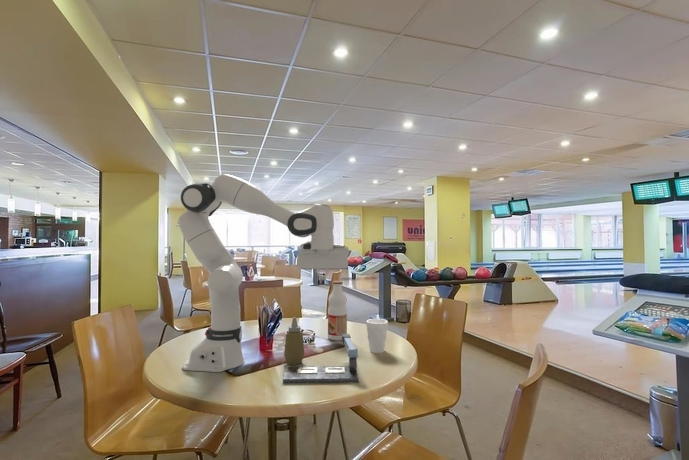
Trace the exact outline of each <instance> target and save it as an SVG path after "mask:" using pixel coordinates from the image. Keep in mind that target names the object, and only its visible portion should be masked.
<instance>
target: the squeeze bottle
mask: <svg viewBox="0 0 689 460" xmlns="http://www.w3.org/2000/svg"><path fill="white" fill-rule="evenodd" d="M303 335H304V334H303V332H302V331H301V326H300V325H298V320H297V317H296V316H293V317H292V321H291V325H289V326H288V331H287V332H286V334H285V344H284V353H283V355H284V359H285V362H286V364H287V365H290V366H297V365H300V364H301V363H302V362H303V359H304V357H305V346H304V344H305V343H304V336H303Z"/></svg>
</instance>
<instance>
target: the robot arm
mask: <svg viewBox="0 0 689 460" xmlns="http://www.w3.org/2000/svg"><path fill="white" fill-rule="evenodd" d="M180 201H181V204H182V206H183V207H184V208H185V209H186V211H184V212H183V213H181V215H180V216H179V217H178V220H177V221H178V225H179V229H180V232H181V234H182V236H183V238H184V239H185V241H186V243H187V245H188V246H189V248H190V250H191V252H192V253H193V255H194V256H195V259H196V260H197V261H198V262H199V263H200V264H201V265H202V266H203V267H204V268H205V269H206V271H207V272H208V273H209V274H208V278H207V287H208V295H209V303H210V326H209V327H208V328H207V329H206V331H204V335H205V338H204V339H203V340H201V341H200V342H199V343H198V344H196V345H195V346H193V348H192V349H191V352H190V353H189V354H190V355H189V358H188V359H187V360H186V361H185V362H184V363H183V364H182V369H183V370H184V371H192V372H193V371H194V372H195V371H197V372H212V373H221V372H224V371H227V370H231V369H235V368H237V367H240V366H241V365H243V364H244V363H245V358H244V355H243V350H242V349H243V348H242V343H241V341H242V337H243V335H242V334H243V331H242V326H241V304H240V294H239V293H240V291H239V288H240V287H239V286H240V285H241V284H242V283H243V279H244V277H243V276H244V275H243V270H242V269H241V268H240V266H239V265H238V263H237V262H236V260H235V259H234V257H233V256H232V255H231V253H229V252H230V251H228V250H227V248H226V247H225V245H224V244H223V242H222V240H221V238H220V237H219V236H218V234H217V232H216V230H215V229H214V227H213V226H212V224H211V222H210V220H209V217H211V216H212V215H213V214H214V213H215V212H217V210H218V209H219V208H220V206H221V205H222V203H225V204H227V205H230V206H232V207H234V208H236V209H238V210H241V211H244V212H246V213H250V214H254V215H259V216H263V217H264V216H265V217H268V218H270V219H272V220H274V221H276V222H278V223H280V224H282V225H284V226H286V227H287V229H288V231H289V232H290V233H291V234H292V236H293V235H294V236H295V237H299V238H308V237H309V236H311V239H310V241H307V242H304V243H302V244H300V245H299V248H300V249H299V251H298V253H297V257H296V268H297V269H299V270H300V269H301V270H305V269H307V270H308V269H309V270H312V269H315V272H316V274H317V275H318V281H326V280H327V276H328V274H329V272H330V270H333V269H334V270H335V269H338V270H340V269H341V270H345V269H347V268H349V261H348V260H349V258H348V256H349V255H350V254H349V253H350V252H349V251H350V249H349V247H348V246H346V245H345V244H342V245H341V244H340V245H339V244H335V242H334V241H335V238H334V237H335V235H334V229H335V228H334V227H335V220H334V219H335V218H334V212H333V209H332V208H331V207H330V206H329V205H327V204H323V203H313V205H312V206H310V207H308V208H306V209H304V210H301V211H298V212H294V211H291V210H289V209H287V208H285V207H283V206H281V205H279V204H277V203H276V202H274V201H273V200H272V199H271V198H269V196H267V194H265V193H264V192H263V191H262V190H261V189H259V188H258V187H257V186H255V185H254V184H252V183H250V182H249V181H246V180H244V179H243V178H240V177H237V176H234V175H230V174H228V173H222V174H219V175H218V176H217V177H216V178H215V179H214V181H213V183H211V184H210V183H207V182H205V183H192V184H189V185H188V186H186V187H184V188H183V190H182V191H181V194H180ZM321 269H322V270H325V274H324V275H322V274H320V270H321Z"/></svg>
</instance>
